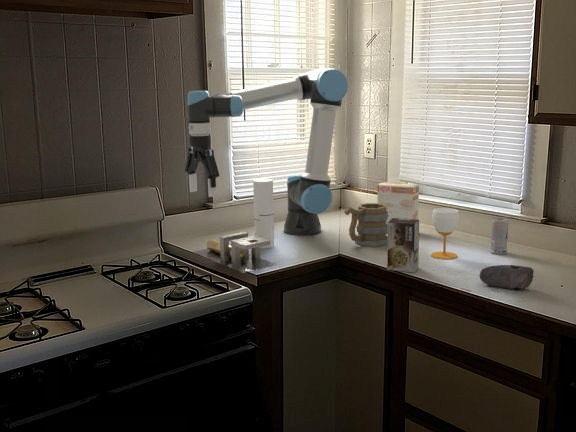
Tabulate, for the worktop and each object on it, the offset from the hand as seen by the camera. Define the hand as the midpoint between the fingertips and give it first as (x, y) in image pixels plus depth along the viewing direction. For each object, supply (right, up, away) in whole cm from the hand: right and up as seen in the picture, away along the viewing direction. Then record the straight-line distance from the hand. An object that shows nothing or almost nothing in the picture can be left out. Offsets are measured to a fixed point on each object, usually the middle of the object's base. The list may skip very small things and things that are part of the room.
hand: (202, 194), depth 232 cm
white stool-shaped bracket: (+19, -24, -19) cm, 36 cm away
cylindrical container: (+22, -20, +6) cm, 30 cm away
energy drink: (+105, -21, -8) cm, 107 cm away
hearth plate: (+12, -23, -10) cm, 28 cm away
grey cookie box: (+68, -25, -24) cm, 77 cm away
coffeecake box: (+75, -15, +24) cm, 80 cm away
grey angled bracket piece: (+13, -23, -11) cm, 28 cm away
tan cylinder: (+10, -22, -7) cm, 25 cm away
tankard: (+60, -18, +8) cm, 63 cm away
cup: (+85, -22, -10) cm, 89 cm away
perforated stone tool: (+95, -29, -44) cm, 108 cm away
